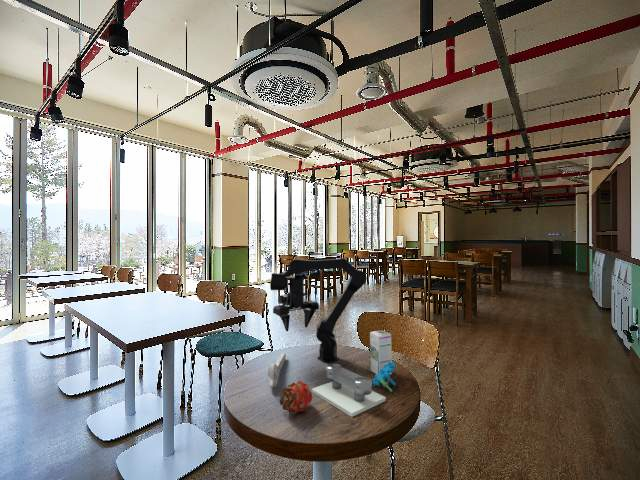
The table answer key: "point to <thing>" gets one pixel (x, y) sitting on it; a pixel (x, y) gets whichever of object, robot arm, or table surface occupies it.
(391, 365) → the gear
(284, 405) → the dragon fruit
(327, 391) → the peg board
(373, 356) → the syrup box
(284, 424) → the table surface
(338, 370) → the ball-ended metal rod
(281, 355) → the wrench
